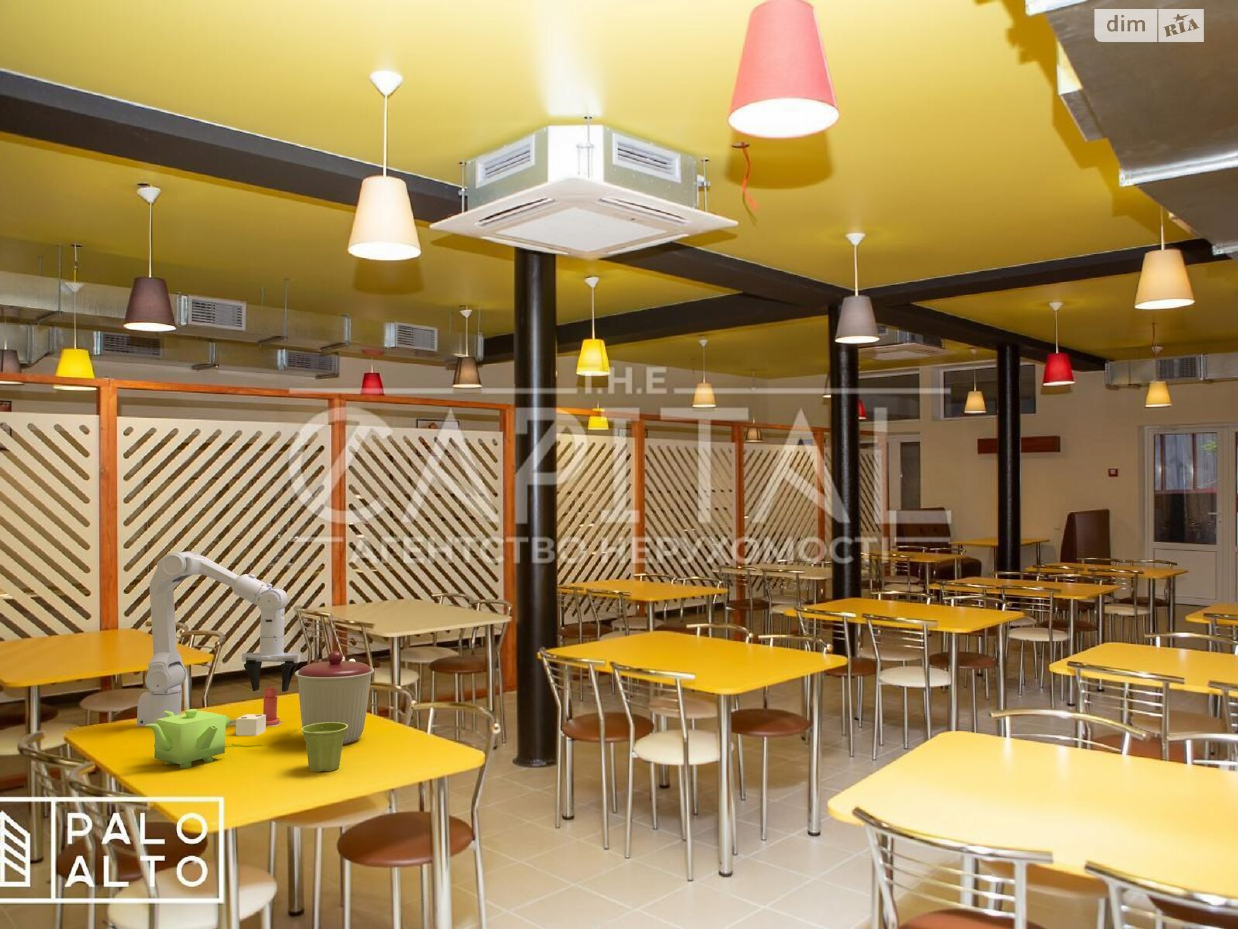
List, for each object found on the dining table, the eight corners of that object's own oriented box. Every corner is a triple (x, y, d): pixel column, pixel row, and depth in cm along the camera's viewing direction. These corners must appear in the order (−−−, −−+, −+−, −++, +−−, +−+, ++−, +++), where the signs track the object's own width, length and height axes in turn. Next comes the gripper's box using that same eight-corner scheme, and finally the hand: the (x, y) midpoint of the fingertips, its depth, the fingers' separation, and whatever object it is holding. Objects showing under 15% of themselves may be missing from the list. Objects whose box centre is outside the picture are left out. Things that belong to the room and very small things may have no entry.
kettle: (143, 773, 187) (145, 718, 188) (158, 756, 201) (159, 705, 201) (221, 768, 191) (223, 714, 192) (231, 752, 205) (232, 701, 205)
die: (235, 740, 216) (236, 718, 216) (245, 735, 221) (246, 714, 221) (256, 740, 215) (256, 719, 216) (265, 735, 220) (266, 714, 221)
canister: (359, 728, 227) (361, 644, 229) (382, 744, 212) (384, 653, 213) (285, 737, 218) (287, 649, 219) (303, 754, 202) (306, 659, 204)
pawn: (256, 725, 226) (257, 688, 226) (265, 721, 230) (266, 685, 231) (274, 725, 225) (275, 688, 226) (282, 721, 230) (283, 685, 231)
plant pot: (324, 777, 185) (325, 734, 186) (290, 771, 190) (291, 729, 190) (356, 766, 194) (357, 725, 194) (323, 760, 198) (324, 720, 198)
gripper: (236, 638, 226) (234, 693, 225) (293, 639, 225) (291, 694, 224) (250, 634, 233) (248, 687, 232) (304, 635, 232) (303, 689, 231)
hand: (270, 690), depth 228 cm, fingers open, 7 cm apart
